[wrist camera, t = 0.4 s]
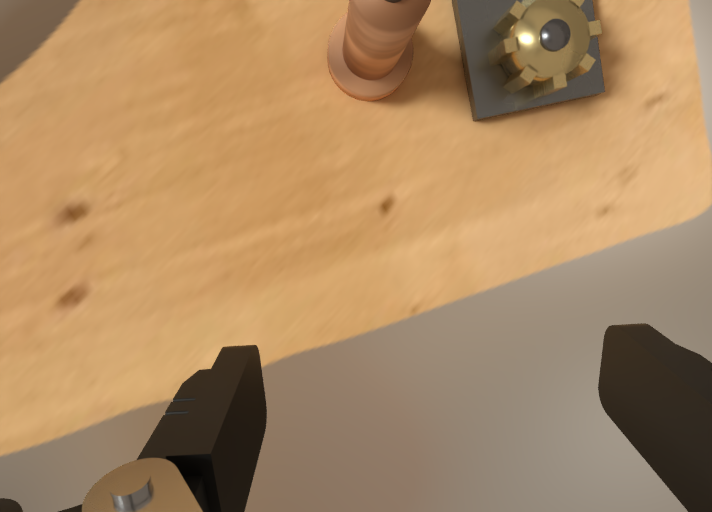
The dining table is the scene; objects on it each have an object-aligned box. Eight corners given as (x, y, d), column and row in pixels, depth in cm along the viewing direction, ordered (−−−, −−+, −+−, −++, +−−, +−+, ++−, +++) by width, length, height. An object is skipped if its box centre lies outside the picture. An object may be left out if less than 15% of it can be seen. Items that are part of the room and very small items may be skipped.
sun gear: (480, 11, 34) (498, -10, 30) (569, -7, 34) (597, -29, 31) (496, 106, 35) (515, 96, 31) (583, 88, 35) (611, 76, 32)
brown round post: (319, 25, 34) (319, -74, 22) (399, 9, 34) (443, -97, 22) (337, 108, 35) (346, 58, 23) (414, 92, 35) (465, 33, 23)
